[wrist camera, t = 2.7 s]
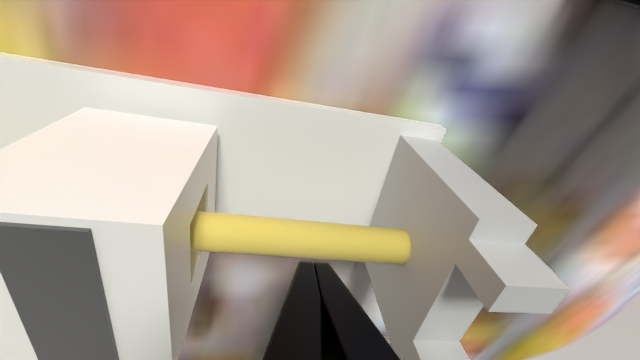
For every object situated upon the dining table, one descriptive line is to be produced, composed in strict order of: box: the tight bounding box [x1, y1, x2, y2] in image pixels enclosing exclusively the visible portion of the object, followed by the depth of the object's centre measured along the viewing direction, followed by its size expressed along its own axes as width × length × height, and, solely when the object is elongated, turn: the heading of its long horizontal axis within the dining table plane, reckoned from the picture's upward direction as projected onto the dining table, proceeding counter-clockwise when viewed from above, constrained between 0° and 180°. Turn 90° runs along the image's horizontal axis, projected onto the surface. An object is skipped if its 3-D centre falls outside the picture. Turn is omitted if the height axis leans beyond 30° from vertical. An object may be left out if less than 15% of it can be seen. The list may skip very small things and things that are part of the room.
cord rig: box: [0, 52, 571, 360], centre depth 8 cm, size 25×7×7 cm, turn 79°
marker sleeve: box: [0, 107, 218, 360], centre depth 9 cm, size 4×5×6 cm
